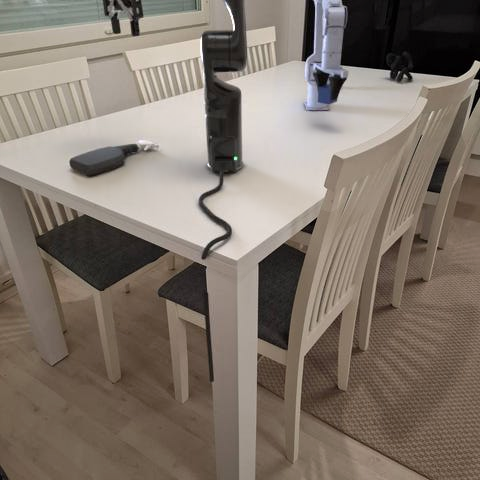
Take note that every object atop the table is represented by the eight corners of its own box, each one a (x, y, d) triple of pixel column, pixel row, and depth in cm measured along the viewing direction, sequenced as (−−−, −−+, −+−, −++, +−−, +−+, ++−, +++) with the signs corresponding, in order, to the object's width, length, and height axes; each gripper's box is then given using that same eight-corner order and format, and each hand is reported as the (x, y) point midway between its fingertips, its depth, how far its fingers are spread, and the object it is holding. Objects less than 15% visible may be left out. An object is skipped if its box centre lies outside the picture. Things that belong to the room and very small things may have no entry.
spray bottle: (67, 168, 120) (139, 144, 136) (91, 178, 114) (163, 151, 130) (65, 157, 118) (137, 134, 134) (89, 167, 112) (162, 142, 128)
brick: (337, 101, 143) (338, 86, 140) (329, 104, 140) (330, 89, 137) (325, 99, 145) (326, 84, 143) (317, 102, 142) (318, 87, 140)
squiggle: (400, 92, 202) (376, 71, 205) (417, 76, 202) (392, 56, 205) (405, 81, 191) (380, 59, 194) (423, 64, 191) (397, 42, 194)
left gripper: (145, -34, 114) (153, 35, 122) (112, -34, 122) (121, 31, 130) (121, -34, 109) (131, 38, 118) (88, -33, 117) (100, 34, 126)
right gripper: (358, 53, 131) (352, 100, 138) (327, 47, 142) (323, 91, 149) (339, 56, 128) (335, 104, 135) (309, 49, 139) (306, 93, 146)
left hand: (126, 34), depth 124 cm, fingers open, 8 cm apart
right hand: (327, 97), depth 142 cm, fingers closed on brick, 5 cm apart
